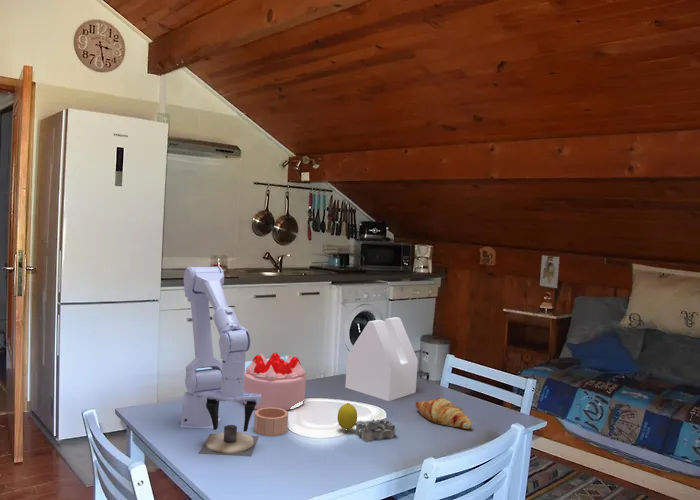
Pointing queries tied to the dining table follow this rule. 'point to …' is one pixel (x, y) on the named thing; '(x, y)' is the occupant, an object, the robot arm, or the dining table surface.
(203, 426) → the robot arm
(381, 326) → the white house-shaped block
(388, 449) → the dining table surface
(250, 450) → the mat
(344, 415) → the lemon
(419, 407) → the croissant
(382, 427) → the egg carton
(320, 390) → the dining table surface
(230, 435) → the lid
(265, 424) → the bucket
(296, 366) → the cake
